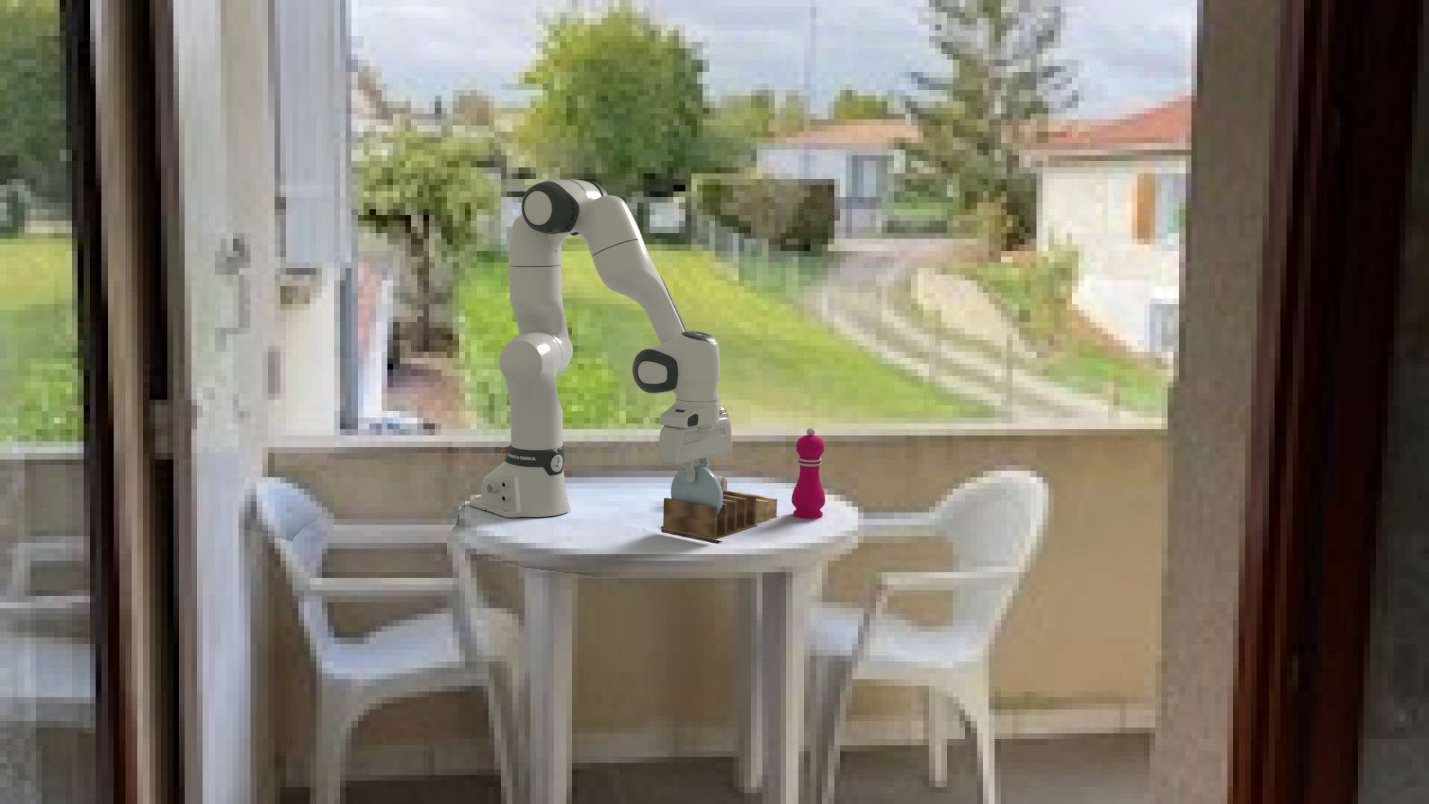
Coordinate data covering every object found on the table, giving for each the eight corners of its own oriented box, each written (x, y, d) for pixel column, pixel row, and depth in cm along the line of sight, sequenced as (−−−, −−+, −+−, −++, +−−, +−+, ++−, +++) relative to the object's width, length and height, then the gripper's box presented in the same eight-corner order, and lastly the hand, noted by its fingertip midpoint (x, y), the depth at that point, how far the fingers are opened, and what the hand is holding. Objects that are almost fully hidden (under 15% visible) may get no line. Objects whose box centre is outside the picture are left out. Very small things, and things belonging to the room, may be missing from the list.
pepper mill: (783, 519, 314) (786, 427, 311) (806, 514, 319) (809, 423, 316) (809, 525, 309) (812, 432, 306) (831, 520, 314) (835, 428, 311)
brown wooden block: (724, 518, 313) (725, 495, 312) (740, 513, 318) (741, 491, 317) (763, 526, 307) (764, 502, 306) (779, 520, 312) (780, 498, 311)
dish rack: (661, 532, 300) (661, 497, 299) (702, 519, 312) (703, 486, 311) (716, 543, 292) (717, 508, 291) (757, 530, 304) (758, 496, 303)
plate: (670, 519, 300) (671, 462, 298) (674, 518, 301) (676, 461, 299) (717, 529, 293) (719, 470, 291) (722, 528, 295) (723, 469, 293)
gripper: (715, 404, 304) (713, 470, 306) (654, 417, 287) (653, 486, 290) (740, 408, 300) (738, 474, 302) (679, 421, 284) (678, 490, 286)
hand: (696, 480), depth 296 cm, fingers closed on plate, 2 cm apart
